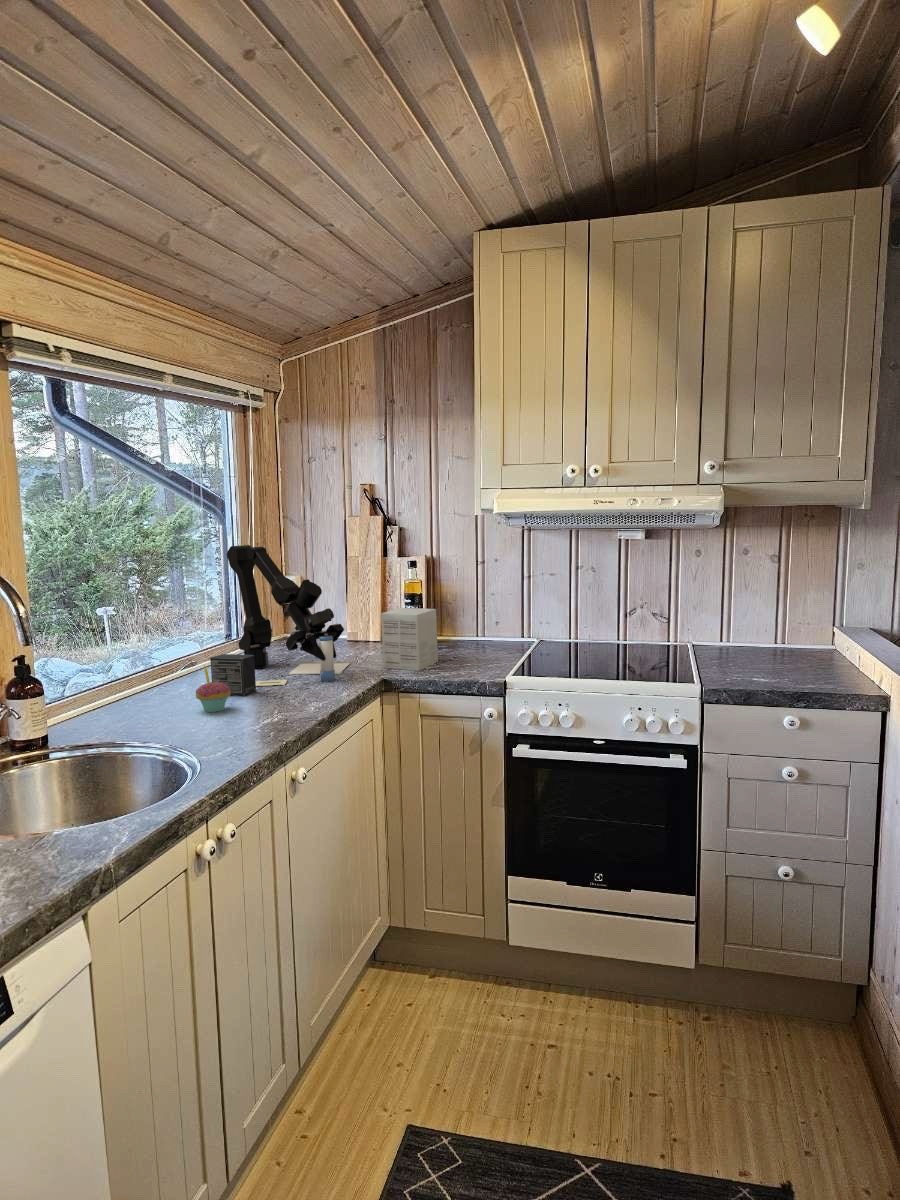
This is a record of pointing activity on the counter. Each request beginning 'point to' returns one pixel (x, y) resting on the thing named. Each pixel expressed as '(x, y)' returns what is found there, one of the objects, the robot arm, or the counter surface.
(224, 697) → the cupcake
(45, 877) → the counter surface
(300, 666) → the notepad
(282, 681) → the word card
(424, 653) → the supplement box
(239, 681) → the small box
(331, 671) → the cylinder
